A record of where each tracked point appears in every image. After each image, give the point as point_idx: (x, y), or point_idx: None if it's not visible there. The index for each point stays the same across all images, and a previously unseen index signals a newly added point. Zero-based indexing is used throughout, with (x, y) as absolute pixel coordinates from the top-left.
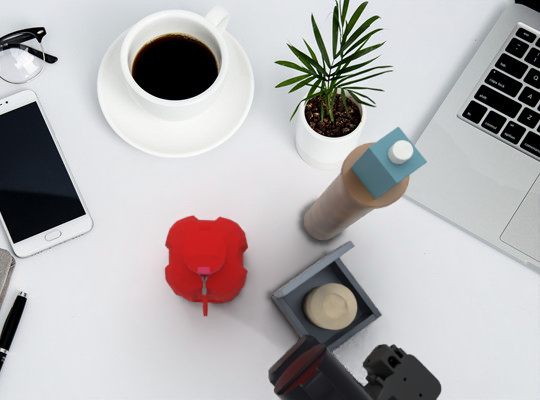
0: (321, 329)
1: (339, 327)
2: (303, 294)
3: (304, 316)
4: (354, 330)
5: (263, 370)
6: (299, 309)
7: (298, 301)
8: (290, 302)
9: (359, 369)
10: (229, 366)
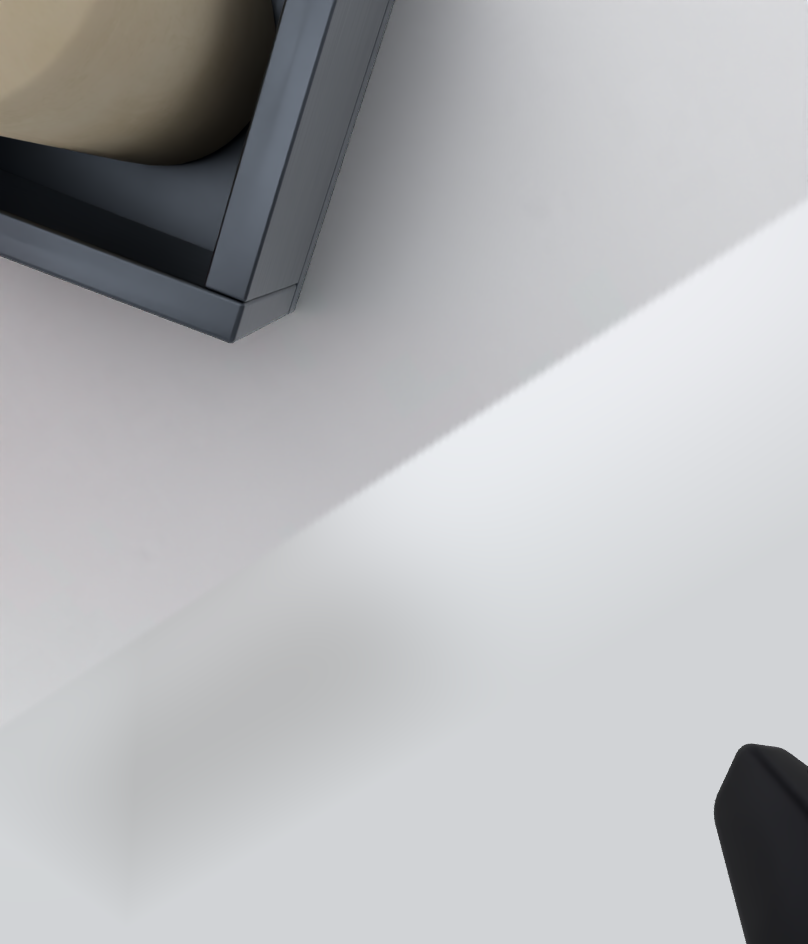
0: (231, 158)
1: (53, 20)
2: None
3: None
4: (304, 3)
5: (143, 504)
6: None
7: None
8: None
9: (530, 226)
10: (14, 572)
